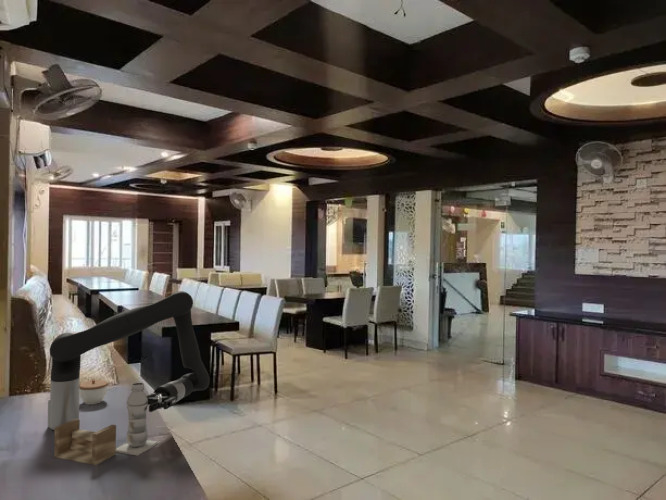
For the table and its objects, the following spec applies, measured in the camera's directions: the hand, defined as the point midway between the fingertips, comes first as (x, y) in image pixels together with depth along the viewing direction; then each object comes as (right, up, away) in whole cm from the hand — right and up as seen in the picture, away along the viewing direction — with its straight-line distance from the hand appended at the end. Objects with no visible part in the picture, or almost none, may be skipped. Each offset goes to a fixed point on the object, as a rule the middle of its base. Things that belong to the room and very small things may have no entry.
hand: (138, 407), depth 160 cm
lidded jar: (-36, -12, +44) cm, 58 cm away
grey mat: (-1, -13, -1) cm, 13 cm away
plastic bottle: (0, -12, -1) cm, 12 cm away
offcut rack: (-14, -13, -8) cm, 20 cm away
